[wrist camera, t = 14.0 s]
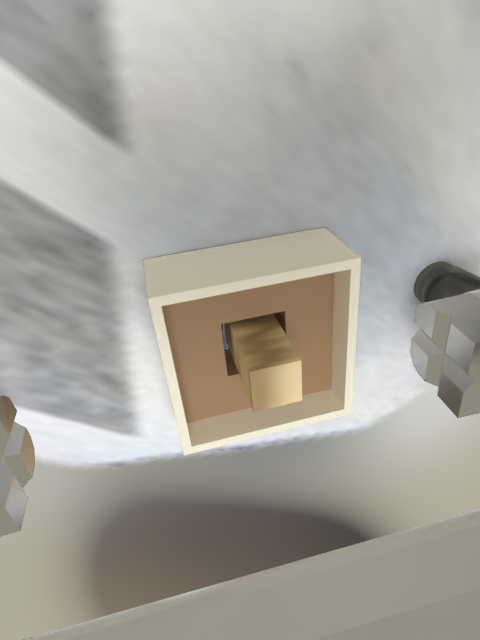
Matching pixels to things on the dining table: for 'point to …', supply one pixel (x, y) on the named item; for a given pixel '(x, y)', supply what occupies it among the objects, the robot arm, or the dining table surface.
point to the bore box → (248, 302)
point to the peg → (265, 361)
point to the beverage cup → (444, 282)
